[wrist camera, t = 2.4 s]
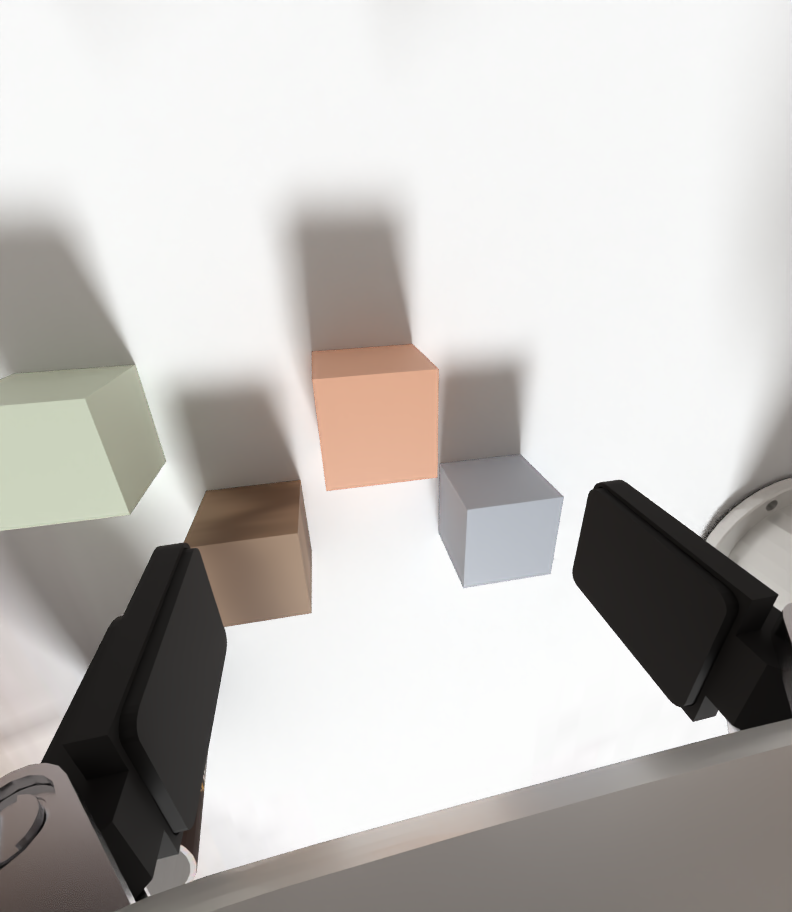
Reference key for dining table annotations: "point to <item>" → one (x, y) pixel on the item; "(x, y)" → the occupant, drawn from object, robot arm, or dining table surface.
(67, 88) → the dining table surface
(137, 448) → the sage cube
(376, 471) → the terracotta cube
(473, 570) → the slate cube
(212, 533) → the walnut cube
